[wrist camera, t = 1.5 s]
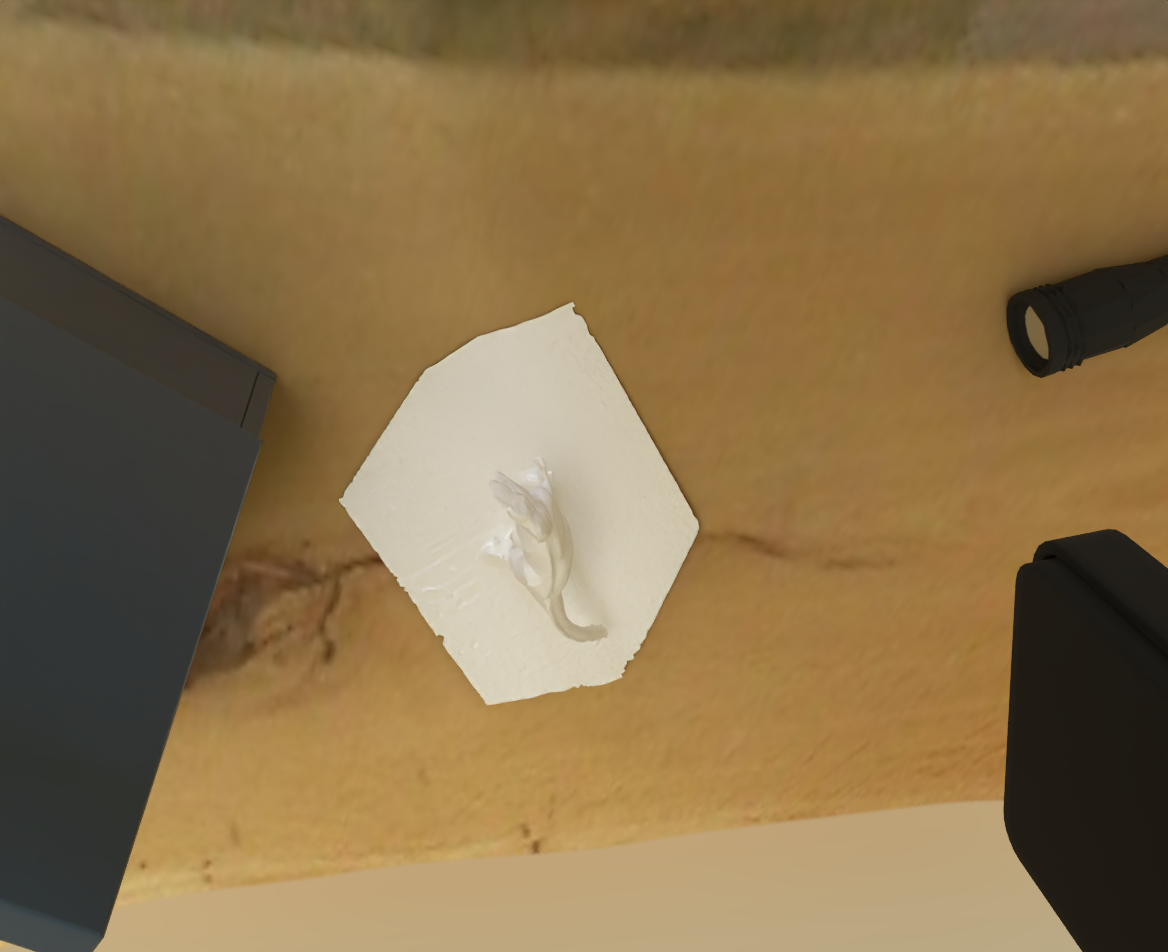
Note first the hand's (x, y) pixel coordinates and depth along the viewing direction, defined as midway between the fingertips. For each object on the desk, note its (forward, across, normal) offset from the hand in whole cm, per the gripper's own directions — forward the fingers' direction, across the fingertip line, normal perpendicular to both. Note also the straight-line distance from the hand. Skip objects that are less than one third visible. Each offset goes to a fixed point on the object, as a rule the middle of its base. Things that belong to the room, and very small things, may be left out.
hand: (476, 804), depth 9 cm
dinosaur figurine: (+28, -2, +12) cm, 31 cm away
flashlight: (+28, -28, +7) cm, 40 cm away
